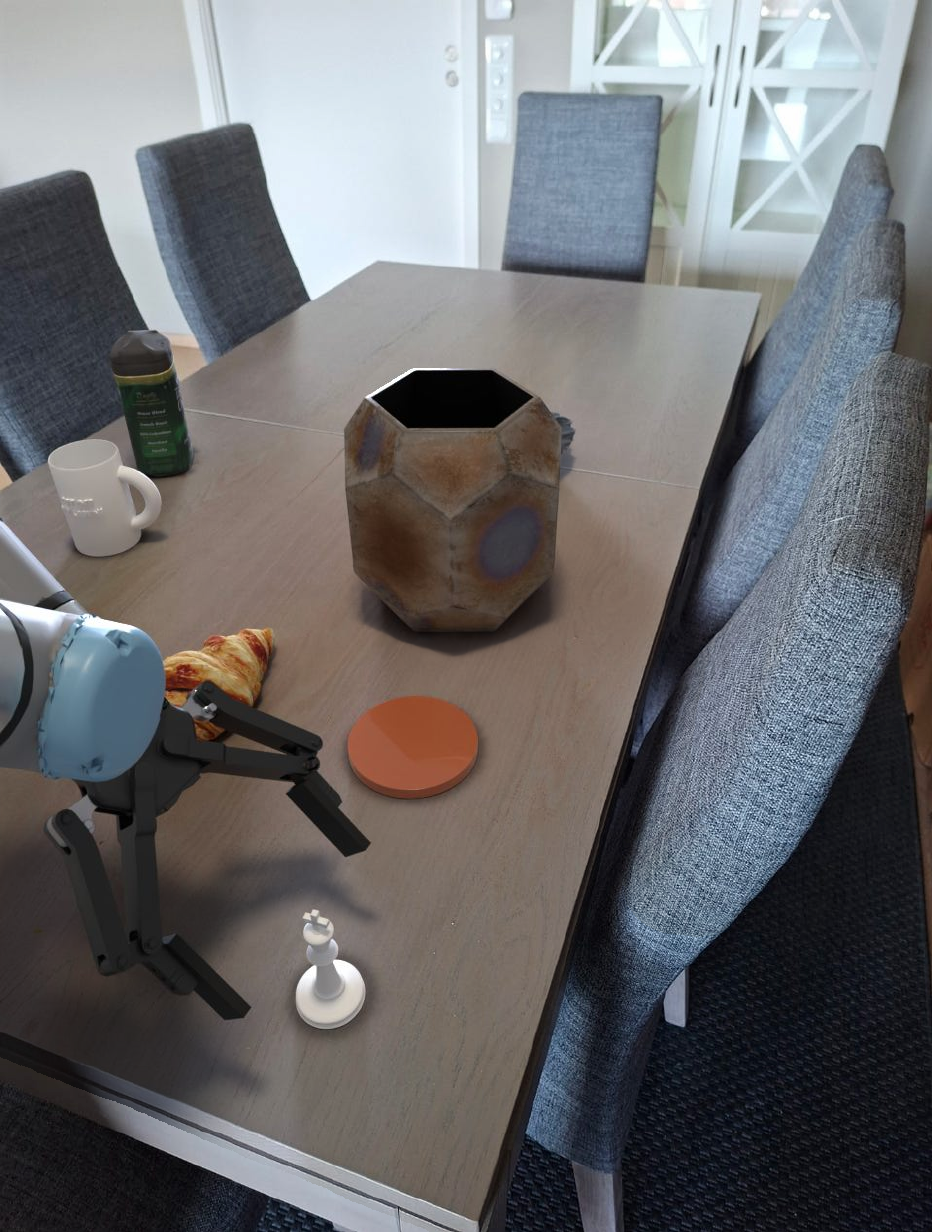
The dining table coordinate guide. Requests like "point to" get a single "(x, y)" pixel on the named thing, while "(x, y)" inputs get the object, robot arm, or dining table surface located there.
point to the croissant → (220, 670)
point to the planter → (453, 496)
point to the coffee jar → (152, 402)
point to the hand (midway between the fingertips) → (303, 925)
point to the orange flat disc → (412, 747)
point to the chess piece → (327, 979)
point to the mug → (101, 497)
